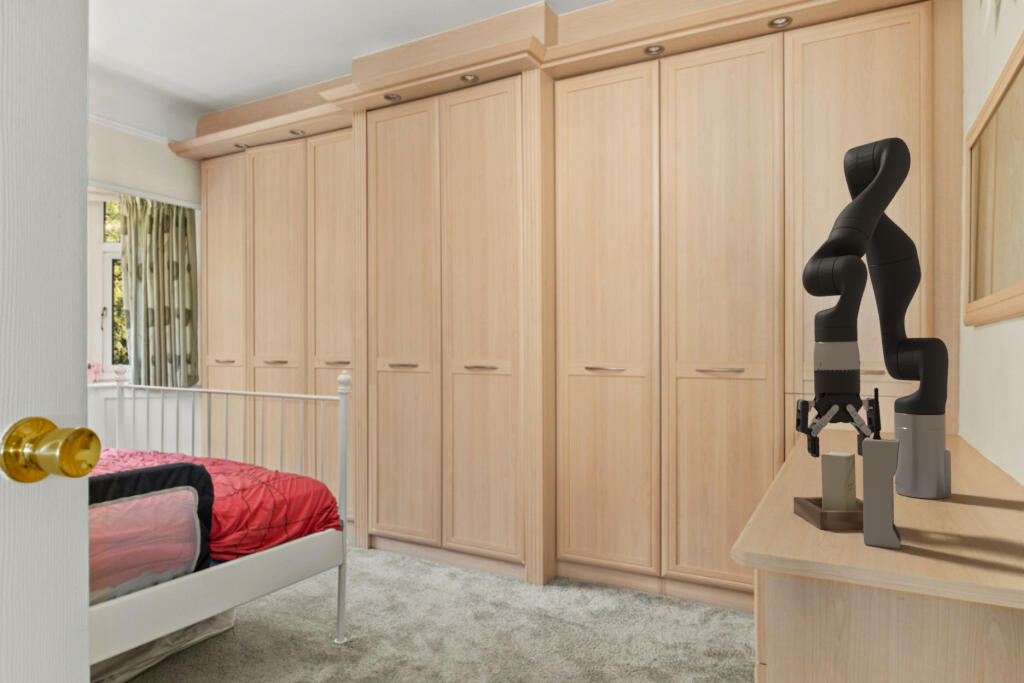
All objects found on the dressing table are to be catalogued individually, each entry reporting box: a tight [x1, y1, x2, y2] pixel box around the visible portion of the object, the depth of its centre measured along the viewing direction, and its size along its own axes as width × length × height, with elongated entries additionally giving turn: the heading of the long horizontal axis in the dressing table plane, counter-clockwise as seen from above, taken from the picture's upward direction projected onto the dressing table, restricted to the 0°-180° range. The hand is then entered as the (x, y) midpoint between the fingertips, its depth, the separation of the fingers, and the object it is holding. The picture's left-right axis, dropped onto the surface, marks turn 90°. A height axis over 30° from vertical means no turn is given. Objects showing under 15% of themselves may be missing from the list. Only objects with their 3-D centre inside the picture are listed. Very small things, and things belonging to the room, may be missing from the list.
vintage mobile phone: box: [862, 387, 902, 550], centre depth 104 cm, size 4×5×25 cm
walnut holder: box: [793, 496, 864, 531], centre depth 118 cm, size 11×11×3 cm
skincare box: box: [820, 450, 857, 510], centre depth 118 cm, size 6×4×12 cm
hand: (838, 456), depth 118 cm, fingers open, 8 cm apart
